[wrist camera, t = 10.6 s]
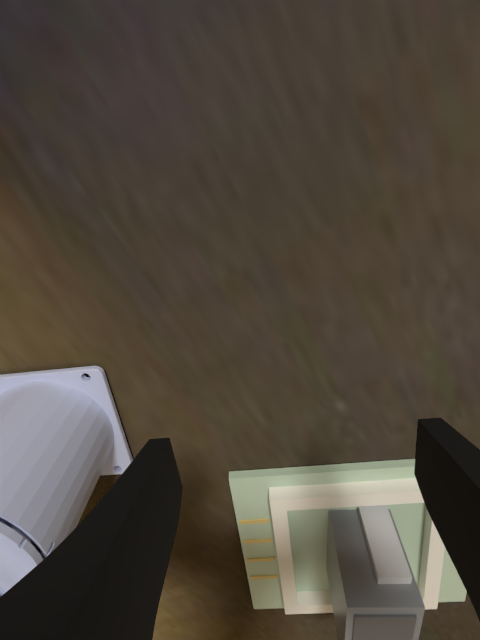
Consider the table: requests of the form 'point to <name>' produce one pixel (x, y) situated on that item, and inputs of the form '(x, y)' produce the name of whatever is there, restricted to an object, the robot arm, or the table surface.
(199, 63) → the table surface
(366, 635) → the plug
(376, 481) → the board
